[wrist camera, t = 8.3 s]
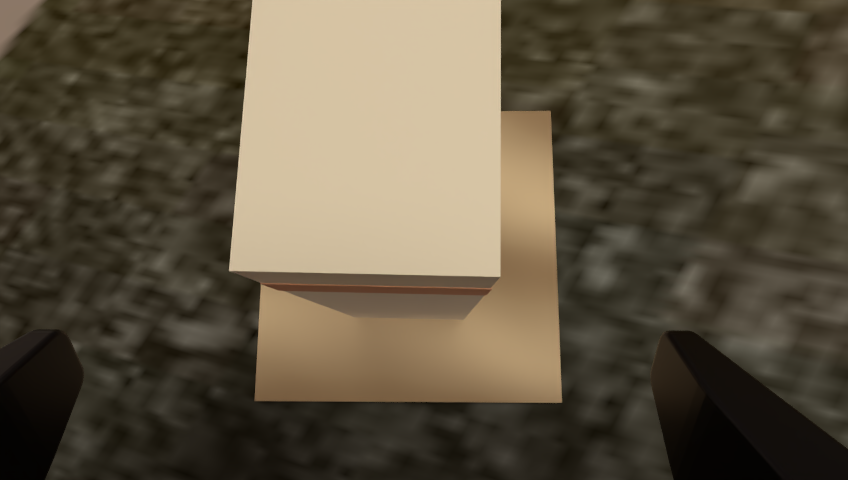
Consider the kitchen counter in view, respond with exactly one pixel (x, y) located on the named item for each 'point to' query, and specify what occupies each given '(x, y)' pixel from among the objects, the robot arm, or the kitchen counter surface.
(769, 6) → the kitchen counter surface
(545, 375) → the coaster
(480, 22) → the beige upright block
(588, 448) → the kitchen counter surface
